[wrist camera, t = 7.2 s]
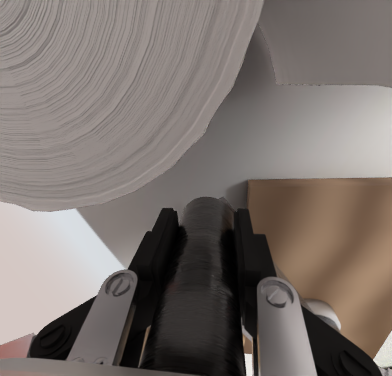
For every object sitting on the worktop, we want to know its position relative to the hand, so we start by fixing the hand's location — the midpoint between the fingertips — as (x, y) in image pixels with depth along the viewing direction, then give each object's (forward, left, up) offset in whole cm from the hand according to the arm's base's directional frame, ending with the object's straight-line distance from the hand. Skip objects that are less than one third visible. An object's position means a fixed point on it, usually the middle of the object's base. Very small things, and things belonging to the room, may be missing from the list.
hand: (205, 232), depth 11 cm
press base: (-8, +10, -5) cm, 14 cm away
